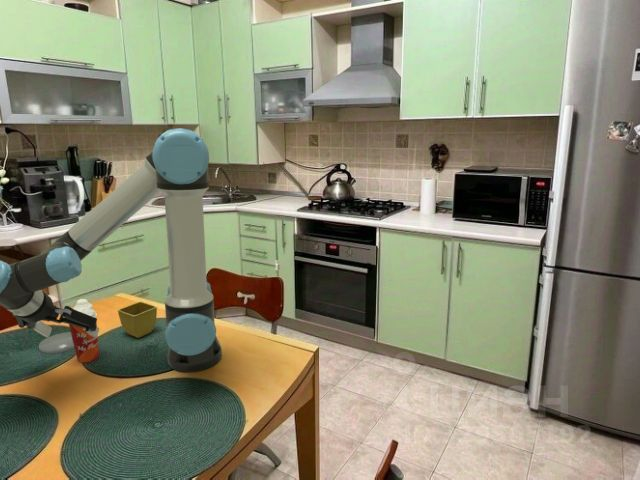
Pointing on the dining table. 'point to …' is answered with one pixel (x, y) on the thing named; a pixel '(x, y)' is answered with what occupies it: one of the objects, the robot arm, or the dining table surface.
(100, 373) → the dining table surface
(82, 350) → the paper cup
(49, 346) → the coaster
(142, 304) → the flower pot
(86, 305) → the muffin
